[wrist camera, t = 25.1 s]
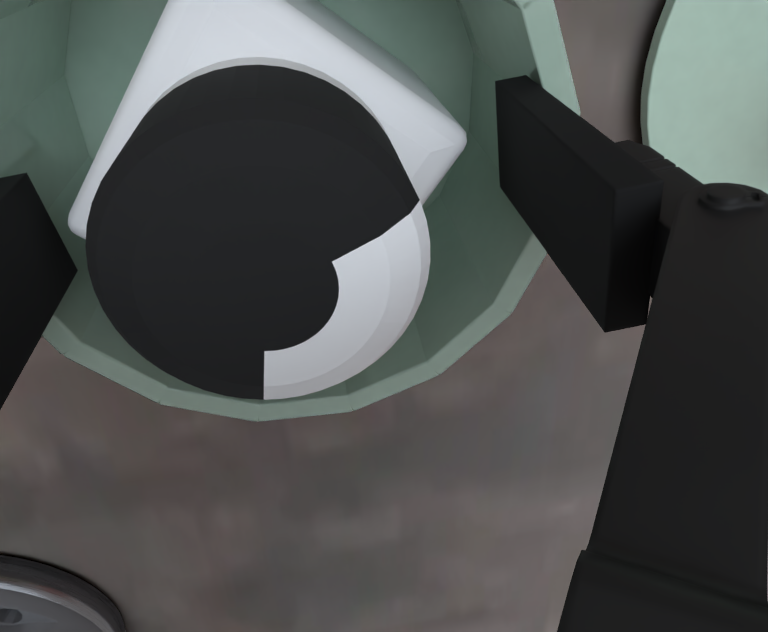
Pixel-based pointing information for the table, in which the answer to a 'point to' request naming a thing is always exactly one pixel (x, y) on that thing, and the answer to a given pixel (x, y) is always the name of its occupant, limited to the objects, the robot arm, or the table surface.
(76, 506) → the table surface
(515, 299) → the basin
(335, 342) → the medicine bottle
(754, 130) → the basin lid
